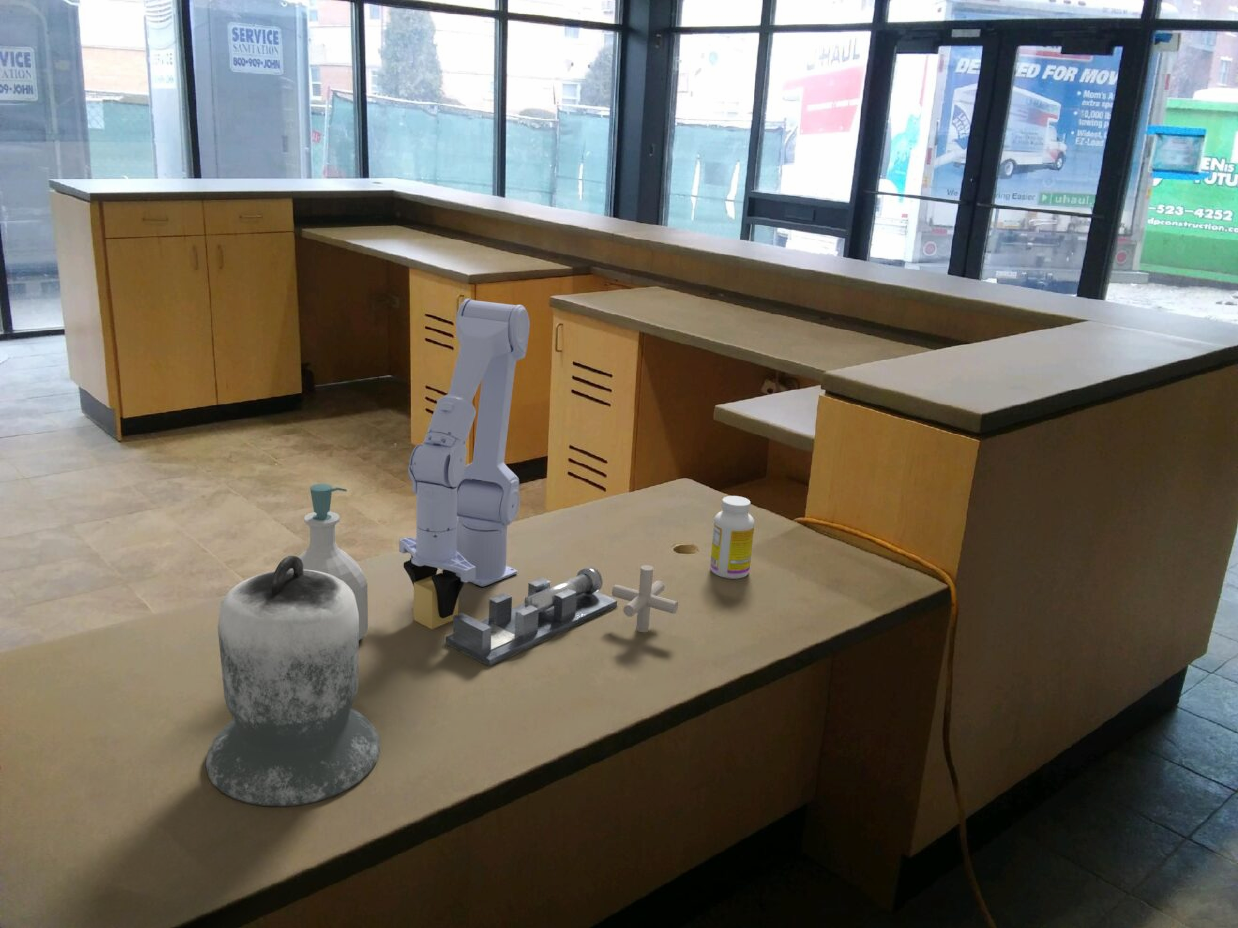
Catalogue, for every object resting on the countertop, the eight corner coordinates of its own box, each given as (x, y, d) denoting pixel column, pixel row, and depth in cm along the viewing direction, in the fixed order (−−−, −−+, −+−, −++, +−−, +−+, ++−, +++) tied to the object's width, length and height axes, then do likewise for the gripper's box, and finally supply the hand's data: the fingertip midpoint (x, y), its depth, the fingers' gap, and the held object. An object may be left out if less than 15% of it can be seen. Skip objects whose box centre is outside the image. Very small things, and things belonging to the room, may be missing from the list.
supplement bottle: (755, 570, 182) (763, 500, 178) (738, 583, 176) (746, 511, 172) (720, 560, 185) (727, 490, 181) (702, 572, 180) (709, 501, 176)
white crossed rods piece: (596, 633, 157) (600, 571, 154) (627, 608, 165) (632, 548, 162) (657, 652, 153) (663, 588, 150) (686, 625, 161) (692, 564, 158)
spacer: (413, 619, 158) (413, 582, 156) (440, 609, 161) (440, 572, 159) (431, 629, 155) (432, 591, 153) (457, 618, 159) (458, 581, 157)
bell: (407, 727, 131) (407, 539, 123) (329, 823, 113) (323, 610, 105) (266, 698, 135) (257, 514, 127) (169, 786, 117) (152, 578, 109)
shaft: (520, 613, 159) (521, 588, 157) (582, 586, 169) (583, 563, 167) (540, 622, 156) (541, 597, 155) (601, 594, 166) (603, 571, 165)
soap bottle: (374, 640, 151) (372, 488, 144) (314, 662, 144) (308, 504, 137) (335, 615, 157) (332, 469, 150) (276, 636, 150) (269, 483, 143)
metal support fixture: (445, 642, 151) (445, 612, 150) (573, 587, 171) (575, 559, 170) (489, 666, 146) (490, 634, 145) (616, 606, 166) (618, 577, 164)
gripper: (382, 517, 155) (382, 602, 159) (449, 547, 146) (448, 636, 150) (420, 505, 160) (420, 588, 164) (487, 533, 151) (485, 620, 156)
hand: (436, 610), depth 158 cm, fingers closed on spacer, 4 cm apart
